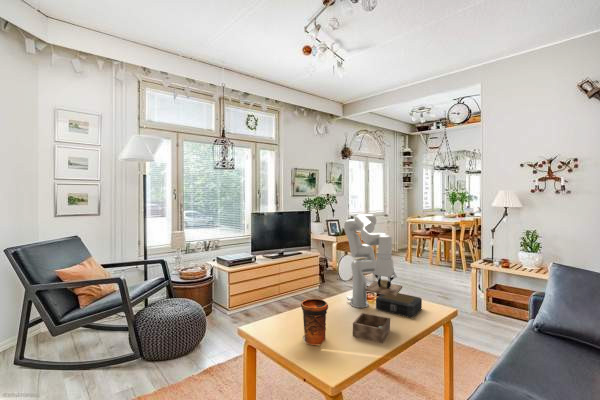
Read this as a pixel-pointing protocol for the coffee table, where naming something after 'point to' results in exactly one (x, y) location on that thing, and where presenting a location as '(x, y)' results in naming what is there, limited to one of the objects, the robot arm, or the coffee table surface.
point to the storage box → (371, 327)
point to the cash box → (399, 304)
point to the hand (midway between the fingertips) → (384, 286)
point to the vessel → (314, 320)
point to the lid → (384, 288)
